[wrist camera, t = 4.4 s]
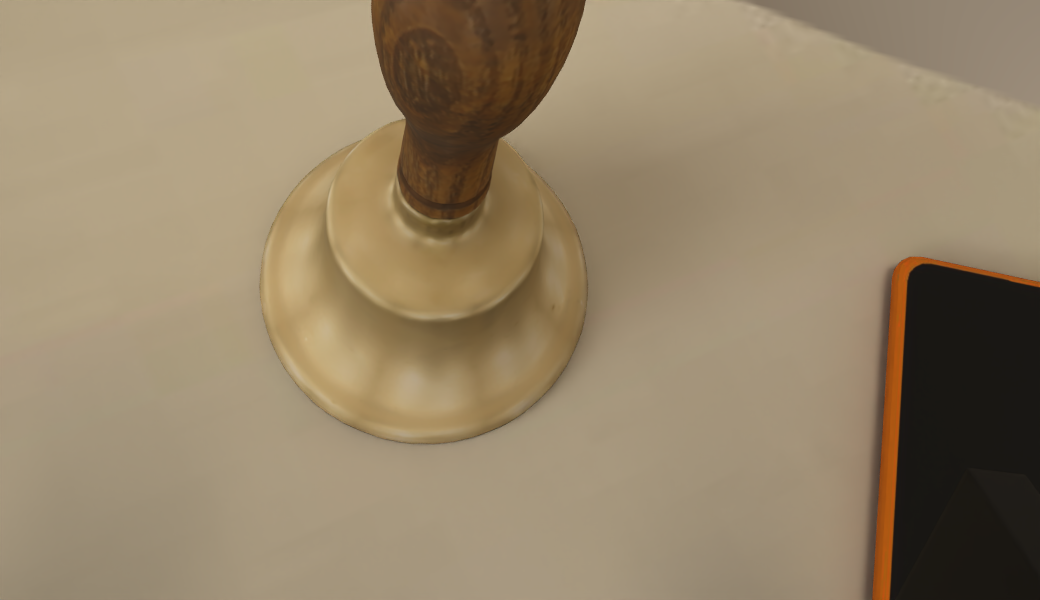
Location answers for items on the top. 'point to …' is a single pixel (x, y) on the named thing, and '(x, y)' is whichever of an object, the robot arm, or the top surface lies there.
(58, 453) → the top surface
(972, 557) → the robot arm
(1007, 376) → the smartphone
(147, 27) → the top surface
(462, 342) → the hand bell
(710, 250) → the top surface
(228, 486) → the top surface
